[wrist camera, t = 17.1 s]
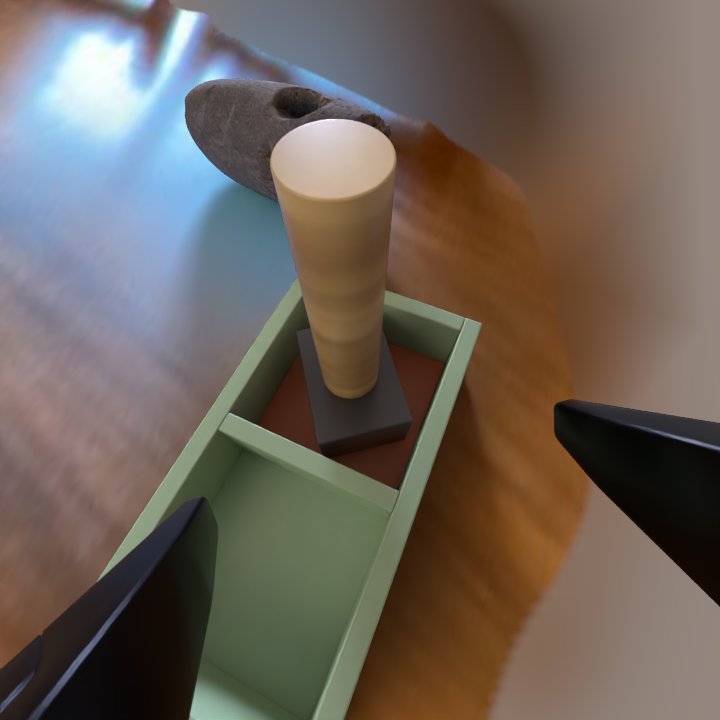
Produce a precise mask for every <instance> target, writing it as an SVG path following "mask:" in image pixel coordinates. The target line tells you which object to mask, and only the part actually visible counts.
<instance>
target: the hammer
mask: <svg viewBox="0 0 720 720" xmlns="http://www.w3.org/2000/svg"><path fill="white" fill-rule="evenodd" d="M270 168H271V173H272V177H273V181H274V185H275V189H276V193H277V197H278V201H279V204H280V208H281V212H282V216H283V220H284V224H285V228H286V232H287V236H288V240H289V244H290V248H291V252H292V256H293V260H294V264H295V268H296V272H297V276H298V280H299V284H300V288H301V292H302V296H303V300H304V304H305V308H306V311H307V315H308V319H309V323H310V327H311V328H308V329H304V330H299V331H296V338H297V343H298V348H299V353H300V358H301V363H302V368H303V373H304V378H305V383H306V388H307V393H308V398H309V403H310V408H311V413H312V418H313V423H314V428H315V433H316V439H317V444H318V446H319V448H320V450H321V452H322V454H323V456H324V457H327V458H329V459H330V458H334V457H338V456H342V455H346V454H350V453H354V452H358V451H362V450H365V449H369V448H373V447H377V446H381V445H385V444H389V443H393V442H397V441H401V440H404V439H406V436H407V434H408V431H409V429H410V427H411V424H412V422H413V420H412V417H411V413H410V410H409V407H408V404H407V401H406V398H405V395H404V392H403V389H402V386H401V383H400V380H399V377H398V373H397V370H396V367H395V364H394V361H393V358H392V355H391V352H390V349H389V346H388V343H387V340H386V337H385V334H384V330H383V327H382V323H383V311H384V300H385V288H386V276H387V265H388V253H389V242H390V230H391V219H392V207H393V195H394V184H395V172H396V153H395V150H394V147H393V145H392V143H391V142H390V140H389V139H388V138H387V137H386V136H385V135H384V134H383V133H381V132H380V131H379V130H377V129H375V128H373V127H372V126H369V125H367V124H364V123H361V122H357V121H352V120H345V119H328V120H320V121H315V122H311V123H308V124H305V125H302V126H300V127H297V128H295V129H293V130H292V131H290V132H289V133H287V134H286V135H285V136H284V137H282V138H281V139H280V140H279V141H278V143H277V144H276V146H275V147H274V149H273V151H272V155H271V159H270Z"/></svg>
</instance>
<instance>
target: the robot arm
mask: <svg viewBox="0 0 720 720" xmlns="http://www.w3.org/2000/svg"><path fill="white" fill-rule="evenodd" d="M554 432H555V435H556V438H557V439H558V441H559V442H560V443H561V444H562V445H563V447H564V448H565V449H566V450H567V451H568V453H569V454H570V455H571V456H572V457H573V459H574V460H575V461H576V462H577V463H578V464H579V466H580V467H581V468H582V469H583V470H584V472H585V473H586V474H587V475H588V476H589V477H590V479H591V480H592V481H593V482H594V483H595V484H596V485H597V486H598V487H599V488H600V489H601V490H602V492H604V493H605V495H606V496H607V497H608V498H610V499H611V500H612V501H613V502H614V503H615V504H616V505H617V506H618V507H619V508H620V509H621V510H622V511H623V512H624V513H625V514H626V515H627V516H628V517H629V518H630V519H631V520H632V521H633V522H634V523H635V524H636V525H637V526H638V527H639V528H640V529H641V530H642V531H643V532H644V533H645V534H646V535H647V536H648V537H649V538H650V539H651V540H652V541H653V542H654V543H655V544H656V545H658V547H659V548H661V549H662V550H663V551H664V552H665V553H666V554H667V555H668V556H669V557H670V558H671V559H672V560H673V561H674V562H675V563H676V564H677V565H678V566H679V567H680V568H681V569H682V570H683V571H684V572H685V573H686V574H687V575H688V576H689V577H690V578H691V579H692V580H693V581H694V582H695V583H696V584H698V586H699V587H700V588H701V589H702V590H703V591H704V592H705V593H706V594H708V596H709V597H710V598H711V599H713V600H714V601H715V602H716V603H717V604H718V605H719V606H720V423H716V422H710V421H703V420H697V419H691V418H685V417H678V416H673V415H666V414H660V413H654V412H648V411H641V410H635V409H629V408H623V407H616V406H610V405H603V404H598V403H591V402H586V401H579V400H573V399H570V400H566V401H562V402H558V403H557V404H556V405H555V407H554ZM217 545H218V525H217V521H216V519H215V516H214V514H213V511H212V509H211V506H210V504H209V501H208V500H207V498H206V497H204V496H201V497H197V498H193V499H190V500H187V501H185V502H184V503H183V504H182V505H181V506H180V507H179V508H178V509H177V510H176V511H174V512H173V513H172V514H171V515H170V516H169V517H168V518H167V519H166V520H165V521H163V522H162V523H161V524H160V525H159V526H158V527H157V528H156V529H155V530H154V531H152V532H151V533H150V534H149V535H148V536H147V537H146V538H145V539H144V540H143V541H142V542H140V543H139V544H138V545H137V546H136V547H135V548H134V549H133V550H132V551H131V552H129V553H128V554H127V555H126V556H125V557H124V558H123V559H122V560H121V561H120V562H118V563H117V564H116V565H115V566H114V567H113V568H112V569H111V570H110V571H109V572H108V573H106V574H105V575H104V576H103V577H102V578H101V579H100V580H99V581H98V582H97V583H95V584H94V585H93V586H92V587H91V588H90V589H89V590H88V591H87V592H86V593H84V594H83V595H82V596H81V597H80V598H79V599H78V600H77V601H76V602H75V603H73V604H72V605H71V606H70V607H69V608H68V609H67V610H66V611H65V612H64V613H63V614H61V615H60V616H59V617H58V618H57V619H56V620H55V621H54V622H53V623H52V624H50V625H49V626H48V627H47V628H46V629H45V630H44V631H43V634H42V635H38V636H37V637H36V638H35V639H34V640H33V641H32V642H31V643H29V644H28V645H27V646H26V647H25V648H24V649H23V650H22V651H21V652H20V653H19V654H17V655H16V656H15V657H14V658H13V659H12V660H11V661H10V662H9V663H7V664H6V665H5V666H4V667H3V668H2V669H1V670H0V720H189V718H190V713H191V708H192V703H193V698H194V693H195V687H196V682H197V677H198V672H199V667H200V662H201V657H202V652H203V647H204V641H205V636H206V631H207V626H208V621H209V616H210V611H211V605H212V599H213V591H214V580H215V568H216V556H217Z"/></svg>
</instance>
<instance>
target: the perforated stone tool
mask: <svg viewBox="0 0 720 720" xmlns="http://www.w3.org/2000/svg"><path fill="white" fill-rule="evenodd" d="M185 119H186V124H187V127H188V130H189V132H190V134H191V136H192V138H193V140H194V141H195V143H196V144H197V146H198V147H199V149H200V150H201V151H202V152H203V154H204V155H205V156H206V157H207V158H208V160H209V161H211V163H213V164H214V165H215V166H216V167H217V168H218V169H219V170H220V171H221V172H223V173H224V174H225V175H227V176H228V177H230V178H231V179H233V180H234V181H236V182H238V183H239V184H241V185H243V186H245V187H247V188H250V189H252V190H254V191H256V192H257V193H259V194H261V195H263V196H265V197H268V198H270V199H271V200H274V201H276V202H278V203H279V201H278V197H277V193H276V189H275V185H274V181H273V177H272V173H271V168H270V159H271V155H272V151H273V149H274V147H275V146H276V144H277V143H278V141H279V140H280V139H281V138H282V137H284V136H285V135H286V134H287V133H289V132H290V131H292V130H293V129H295V128H297V127H300V126H302V125H305V124H308V123H311V122H315V121H320V120H328V119H345V120H352V121H357V122H361V123H364V124H367V125H369V126H372V127H373V128H375V129H377V130H379V131H380V132H381V133H383V134H384V135H385V136H386V137H387V138H388V139H389V140H390V135H391V132H390V128H389V125H386V124H385V122H384V121H383V119H381V117H380V116H377V115H376V114H375V113H372V112H370V111H368V110H365V109H363V108H361V107H359V106H356V105H353V104H350V103H348V102H345V101H343V100H341V99H338V98H336V97H333V96H331V95H327V94H325V93H322V92H318V91H315V90H312V89H309V88H305V87H301V86H296V85H292V84H283V83H277V82H270V81H262V80H249V79H219V80H212V81H207V82H204V83H202V84H200V85H198V86H197V87H195V88H194V89H192V90H191V91H190V92H189V93H188V94H187V96H186V98H185Z"/></svg>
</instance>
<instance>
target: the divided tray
mask: <svg viewBox="0 0 720 720" xmlns="http://www.w3.org/2000/svg"><path fill="white" fill-rule="evenodd" d="M382 327H383V330H384V334H385V337H386V340H387V343H388V346H389V349H390V352H391V355H392V358H393V361H394V364H395V367H396V370H397V373H398V377H399V380H400V383H401V386H402V389H403V392H404V395H405V398H406V401H407V404H408V407H409V410H410V413H411V417H412V420H413V422H412V424H411V427H410V429H409V431H408V434H407V436H406V439H404V440H401V441H397V442H393V443H389V444H385V445H381V446H377V447H373V448H369V449H365V450H362V451H358V452H354V453H350V454H346V455H342V456H338V457H334V458H330V459H329V458H327V457H324V456H323V454H322V452H321V450H320V448H319V446H318V444H317V439H316V433H315V428H314V423H313V418H312V413H311V408H310V403H309V398H308V393H307V388H306V383H305V378H304V373H303V368H302V363H301V358H300V353H299V348H298V343H297V338H296V331H299V330H304V329H308V328H311V327H310V323H309V319H308V315H307V311H306V308H305V304H304V300H303V296H302V292H301V288H300V284H299V280H298V276H297V278H296V279H295V281H294V282H293V284H292V285H291V287H290V288H289V290H288V291H287V293H286V294H285V296H284V297H283V299H282V301H281V302H280V304H279V305H278V307H277V308H276V310H275V311H274V313H273V314H272V316H271V317H270V319H269V320H268V322H267V323H266V325H265V326H264V328H263V329H262V331H261V333H260V334H259V336H258V337H257V339H256V340H255V342H254V343H253V345H252V346H251V348H250V349H249V351H248V352H247V354H246V355H245V357H244V358H243V360H242V361H241V363H240V364H239V366H238V368H237V369H236V371H235V372H234V374H233V375H232V377H231V378H230V380H229V381H228V383H227V384H226V386H225V387H224V389H223V390H222V392H221V393H220V395H219V396H218V398H217V400H216V401H215V403H214V404H213V406H212V407H211V409H210V410H209V412H208V413H207V415H206V416H205V418H204V419H203V421H202V422H201V424H200V425H199V427H198V428H197V430H196V431H195V433H194V435H193V436H192V438H191V439H190V441H189V442H188V444H187V445H186V447H185V448H184V450H183V451H182V453H181V454H180V456H179V457H178V459H177V460H176V462H175V463H174V465H173V466H172V468H171V470H170V471H169V473H168V474H167V476H166V477H165V479H164V480H163V482H162V483H161V485H160V486H159V488H158V489H157V491H156V492H155V494H154V495H153V497H152V498H151V500H150V502H149V503H148V505H147V506H146V508H145V509H144V511H143V512H142V514H141V515H140V517H139V518H138V520H137V521H136V523H135V524H134V526H133V527H132V529H131V530H130V532H129V533H128V535H127V537H126V538H125V540H124V541H123V543H122V544H121V546H120V547H119V549H118V550H117V552H116V553H115V555H114V556H113V558H112V559H111V561H110V562H109V564H108V565H107V567H106V569H105V570H104V572H103V573H102V575H101V576H100V578H99V579H98V581H99V580H100V579H101V578H102V577H103V576H104V575H105V574H106V573H108V572H109V571H110V570H111V569H112V568H113V567H114V566H115V565H116V564H117V563H118V562H120V561H121V560H122V559H123V558H124V557H125V556H126V555H127V554H128V553H129V552H131V551H132V550H133V549H134V548H135V547H136V546H137V545H138V544H139V543H140V542H142V541H143V540H144V539H145V538H146V537H147V536H148V535H149V534H150V533H151V532H152V531H154V530H155V529H156V528H157V527H158V526H159V525H160V524H161V523H162V522H163V521H165V520H166V519H167V518H168V517H169V516H170V515H171V514H172V513H173V512H174V511H176V510H177V509H178V508H179V507H180V506H181V505H182V504H183V503H184V502H185V501H187V500H190V499H193V498H197V497H201V496H204V497H206V498H207V500H208V501H209V504H210V506H211V509H212V511H213V514H214V516H215V519H216V521H217V525H218V545H217V556H216V568H215V580H214V591H213V599H212V605H211V611H210V616H209V621H208V626H207V631H206V636H205V641H204V647H203V652H202V657H201V662H200V667H199V672H198V677H197V682H196V687H195V693H194V698H193V703H192V708H191V713H190V718H189V720H344V719H345V716H346V713H347V710H348V707H349V705H350V702H351V699H352V696H353V693H354V690H355V687H356V685H357V682H358V679H359V676H360V673H361V670H362V667H363V665H364V662H365V659H366V656H367V653H368V650H369V647H370V644H371V642H372V639H373V636H374V633H375V630H376V627H377V624H378V622H379V619H380V616H381V613H382V610H383V607H384V604H385V602H386V599H387V596H388V593H389V590H390V587H391V584H392V582H393V579H394V576H395V573H396V570H397V567H398V564H399V561H400V559H401V556H402V553H403V550H404V547H405V544H406V541H407V539H408V536H409V533H410V530H411V527H412V524H413V521H414V519H415V516H416V513H417V510H418V507H419V504H420V501H421V498H422V496H423V493H424V490H425V487H426V484H427V481H428V478H429V476H430V473H431V470H432V467H433V464H434V461H435V458H436V456H437V453H438V450H439V447H440V444H441V441H442V438H443V436H444V433H445V430H446V427H447V424H448V421H449V418H450V415H451V413H452V410H453V407H454V404H455V401H456V398H457V395H458V393H459V390H460V387H461V384H462V381H463V378H464V375H465V373H466V370H467V367H468V364H469V361H470V358H471V355H472V352H473V350H474V347H475V344H476V341H477V338H478V335H479V332H480V330H481V327H482V324H481V323H479V322H476V321H473V320H470V319H467V318H466V319H465V318H464V317H461V316H458V315H456V314H453V313H450V312H447V311H444V310H441V309H439V308H436V307H433V306H430V305H427V304H424V303H421V302H419V301H416V300H413V299H410V298H407V297H404V296H402V295H399V294H396V293H393V292H390V291H387V290H385V300H384V311H383V323H382ZM98 581H97V582H98ZM97 582H96V583H97Z"/></svg>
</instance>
